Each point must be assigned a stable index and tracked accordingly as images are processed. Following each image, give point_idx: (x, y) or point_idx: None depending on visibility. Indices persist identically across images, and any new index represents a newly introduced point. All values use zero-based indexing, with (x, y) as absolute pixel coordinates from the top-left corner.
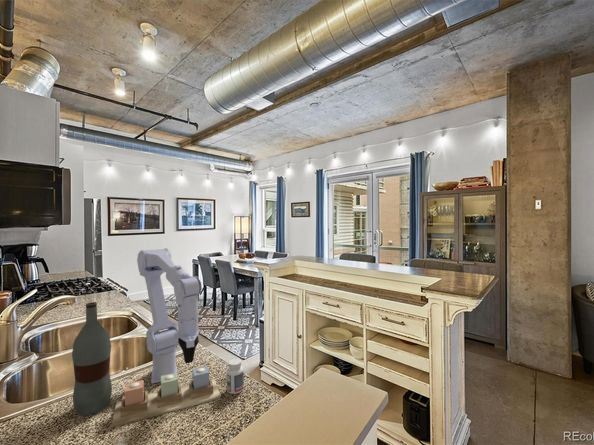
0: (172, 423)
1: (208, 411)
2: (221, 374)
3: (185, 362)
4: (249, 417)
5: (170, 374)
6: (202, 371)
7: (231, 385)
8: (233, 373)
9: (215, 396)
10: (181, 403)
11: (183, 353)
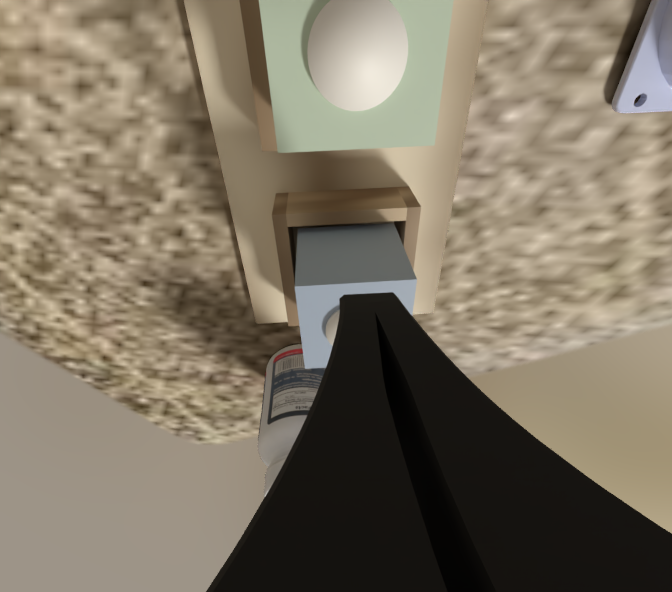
0: (65, 63)
1: (161, 263)
2: (461, 336)
3: (339, 303)
4: (98, 383)
5: (432, 72)
6: (329, 339)
7: (269, 385)
8: (260, 446)
9: (260, 304)
10: (248, 132)
11: (314, 402)
